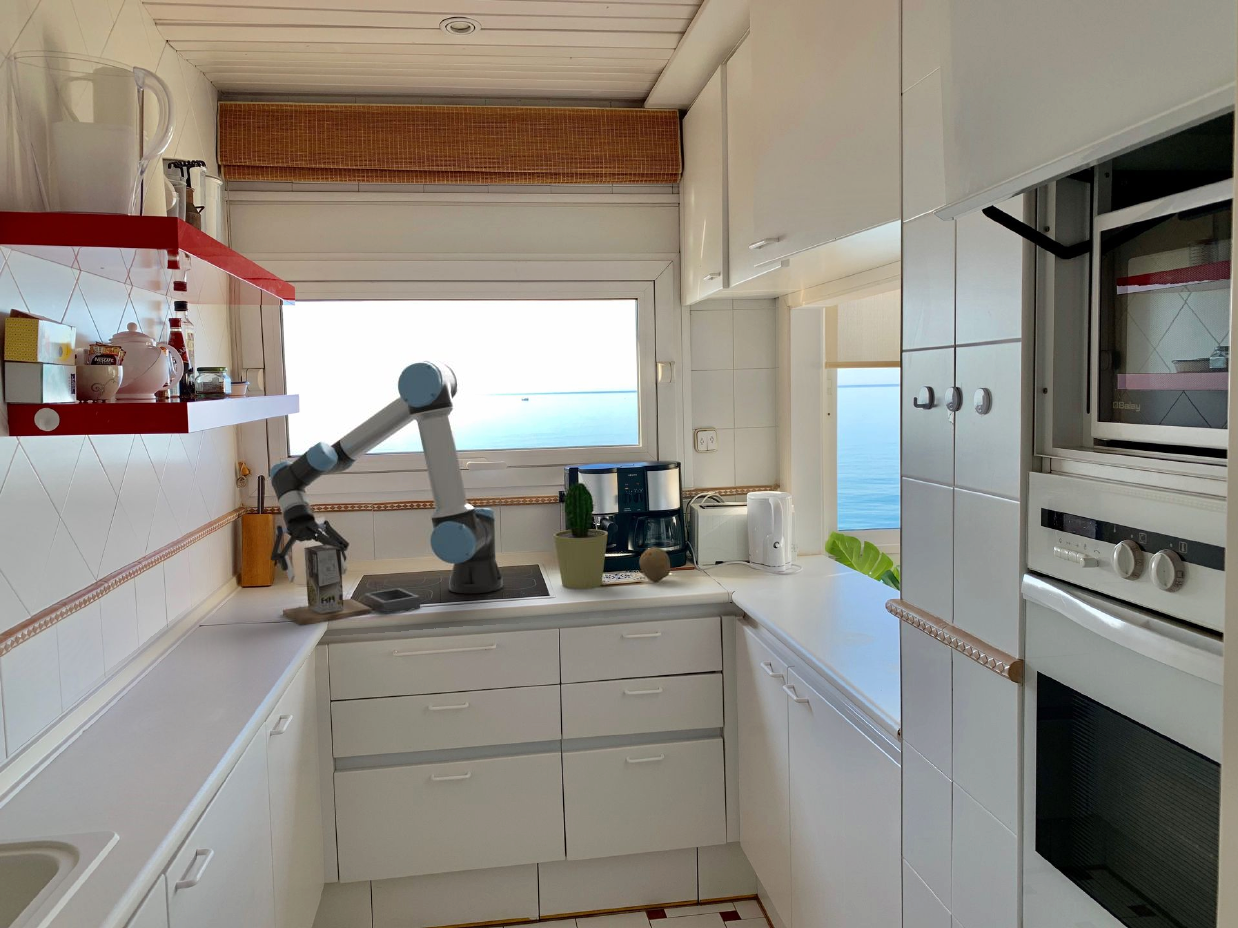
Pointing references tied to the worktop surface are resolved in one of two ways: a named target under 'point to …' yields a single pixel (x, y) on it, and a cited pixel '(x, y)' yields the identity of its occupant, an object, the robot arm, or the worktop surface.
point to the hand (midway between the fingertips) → (319, 575)
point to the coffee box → (324, 578)
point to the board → (309, 616)
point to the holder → (391, 600)
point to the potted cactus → (580, 542)
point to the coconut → (655, 564)
